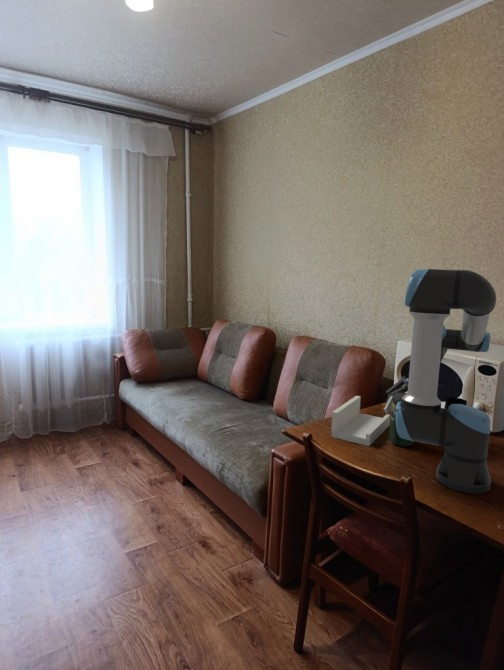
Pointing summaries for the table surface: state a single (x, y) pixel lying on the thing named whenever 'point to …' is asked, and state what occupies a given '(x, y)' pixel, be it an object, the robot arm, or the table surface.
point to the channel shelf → (357, 423)
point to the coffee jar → (393, 430)
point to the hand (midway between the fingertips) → (401, 416)
